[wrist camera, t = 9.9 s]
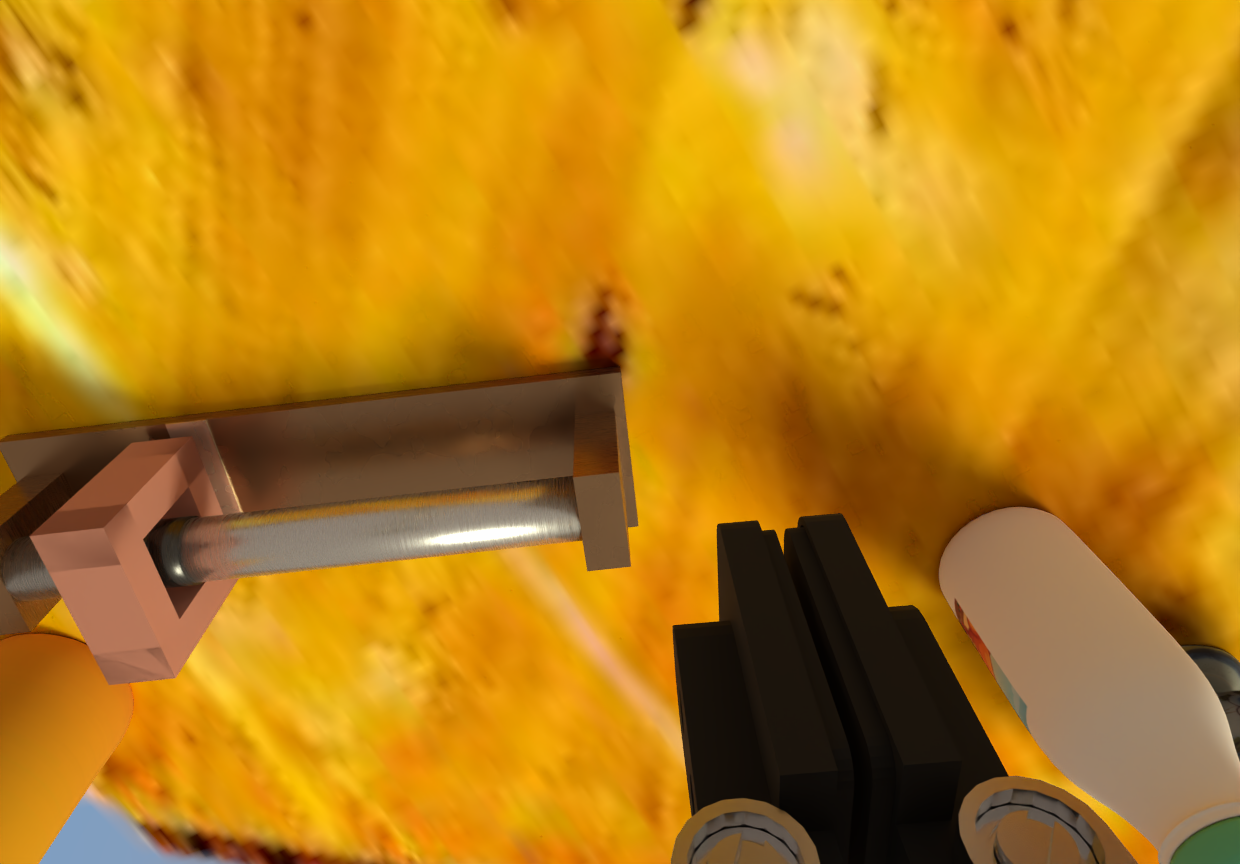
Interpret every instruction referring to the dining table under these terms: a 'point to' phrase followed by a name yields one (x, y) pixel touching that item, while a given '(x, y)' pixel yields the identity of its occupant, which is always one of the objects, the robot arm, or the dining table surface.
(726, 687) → the robot arm
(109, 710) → the beer bottle
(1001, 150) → the dining table surface
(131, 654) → the collar
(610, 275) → the dining table surface
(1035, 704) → the milk bottle
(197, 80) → the dining table surface
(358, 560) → the pipe rig
